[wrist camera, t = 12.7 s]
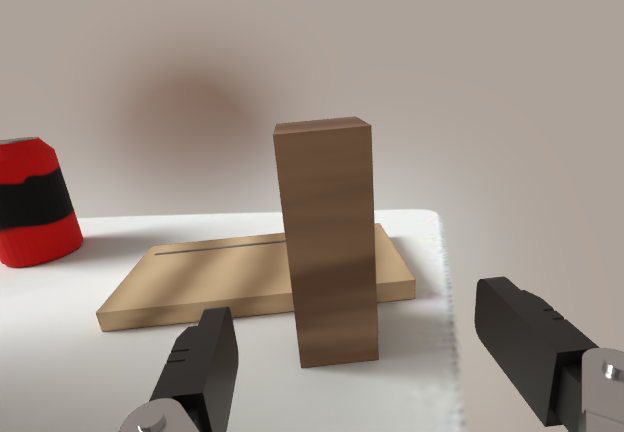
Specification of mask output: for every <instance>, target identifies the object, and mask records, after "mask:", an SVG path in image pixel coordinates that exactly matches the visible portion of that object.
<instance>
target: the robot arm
mask: <svg viewBox="0 0 624 432" xmlns="http://www.w3.org/2000/svg"><path fill="white" fill-rule="evenodd" d="M475 328H476V332H477V334H478V337H479V339H480V340H481V342H482V343H483V344H484V346H485V347H486V348H487V350H488V351H489V352H490V354H491V355H492V356H493V358H494V359H495V360H496V362H497V363H498V364H499V366H500V367H501V369H502V370H503V371H504V373H505V374H506V375H507V376H508V378H509V379H510V381H511V382H512V383H513V384H514V386H515V387H516V389H517V390H518V391H519V393H520V394H521V395H522V397H523V398H524V399H525V401H526V402H527V403H528V405H529V406H530V407H531V409H532V410H533V411H534V413H535V414H536V415H537V417H538V418H539V419H540V421H541V422H542V423H543V425H544V426H545V427H548V426H557V425H564V426H565V427H566V428H567V430H568V432H624V352H622V351H618V350H614V349H608V348H599V347H598V346H597V345H596V344H595V343H593V342H592V341H591V340H590V339H589V338H588V337H586V336H585V335H584V334H583V333H582V332H580V331H579V330H578V329H577V328H576V327H574V326H573V325H572V324H571V323H570V322H569V321H568V320H564V317H563V316H562V315H560V314H559V313H558V312H557V311H554V309H553V308H552V307H551V306H550V305H548V304H547V303H546V302H545V301H544V300H543V299H541V298H540V297H538V296H536V295H534V294H531V293H529V292H527V291H525V290H520V289H519V288H518V287H516V286H515V285H514V284H513V283H512V282H511V281H510V280H509V279H507V278H506V277H495V278H487V279H480V280H479V281H478V283H477V291H476V306H475ZM237 369H238V347H237V341H236V336H235V331H234V326H233V320H232V315H231V311H230V308H229V307H228V306H227V307H218V308H209V309H204V311H203V314H202V316H201V319H200V322H199V324H198V326H192V327H188V328H187V329H186V330H185V331H184V332H183V333H182V334H181V335H180V336H179V337H178V338H177V339H176V341H175V344H174V346H173V348H172V350H171V353H170V355H169V357H168V360H167V364H165V366H164V369H163V371H162V373H161V375H160V378H159V380H158V382H157V385H156V387H155V389H154V391H153V394H152V396H151V398H150V400H149V402H148V403H146V404H144V405H142V406H140V407H139V408H137V409H136V410H135V411H133V412H132V413H131V414H130V415H129V416H128V417H127V418H126V420H125V421H124V422H123V424H122V426H121V428H120V431H119V432H226V431H227V425H228V419H229V414H230V408H231V403H232V397H233V392H234V386H235V380H236V375H237Z"/></svg>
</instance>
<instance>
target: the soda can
mask: <svg viewBox="0 0 624 432" xmlns="http://www.w3.org/2000/svg"><path fill="white" fill-rule="evenodd" d="M82 241H83V237H82V233H81V230H80V227H79V224H78V221H77V218H76V215H75V212H74V209H73V206H72V203H71V200H70V196H69V193H68V190H67V187H66V184H65V181H64V178H63V175H62V172H61V169H60V166H59V162H58V159H57V156H56V153H55V150H54V149H53V148H52V147H50V146H49V145H47V144H46V143H45V142H43V141H42V140H41V139H39V137H27V138H17V139H8V140H1V141H0V261H1V262H2V263H3V264H5V265H7V266H10V267H27V266H33V265H38V264H42V263H46V262H49V261H52V260H55V259H58V258H61V257H63V256H65V255H67V254H69V253H71V252H73V251H75V250H76V249H77V248H79V246H80V245H81V243H82Z"/></svg>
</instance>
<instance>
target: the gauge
mask: <svg viewBox="0 0 624 432" xmlns="http://www.w3.org/2000/svg"><path fill="white" fill-rule="evenodd" d="M273 139H274V147H275V156H276V164H277V172H278V181H279V189H280V197H281V206H282V214H283V222H284V230H285V239H286V247H287V255H288V263H289V272H290V280H291V288H292V297H293V305H294V313H295V321H296V330H297V338H298V346H299V354H300V363H301V368H306V367H315V366H324V365H334V364H343V363H352V362H361V361H371V360H379V355H378V323H377V292H376V260H375V228H374V196H373V165H372V133H371V125H370V124H368V123H366V122H364V121H362V120H361V119H359V118H357V117H347V118H335V119H324V120H313V121H303V122H292V123H282V124H276V127H275V130H274V133H273Z"/></svg>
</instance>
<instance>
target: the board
mask: <svg viewBox="0 0 624 432" xmlns="http://www.w3.org/2000/svg"><path fill="white" fill-rule="evenodd" d="M374 228H375V260H376V292H377V302H385V301H394V300H404V299H413V298H415V278H414V277H413V275H412V274H411V272H410V270H409V269H408V267H407V266H406V264H405V262H404V261H403V259H402V258H401V256H400V254H399V253H398V251H397V250H396V248H395V247H394V245H393V243H392V242H391V240H390V239H389V237H388V235H387V234H386V232H385V231H384V229H383V228H382V226H381V224H380V223H376V224H374ZM227 306H228V307H229V308H230V311H231V315H232V318H234V317H243V316H253V315H262V314H272V313H281V312H290V311H294V305H293V297H292V288H291V280H290V272H289V263H288V255H287V247H286V239H285V233H277V234H267V235H257V236H247V237H238V238H228V239H218V240H208V241H198V242H188V243H178V244H168V245H159V246H152V247H151V248H150V249H149V250H148V251H147V253H146V254H145V255H144V256H143V257H142V259H141V260H140V261H139V262H138V263H137V264H136V266H135V267H134V268H133V269H132V270H131V272H130V273H129V274H128V275H127V276H126V278H125V279H124V280H123V281H122V282H121V284H120V285H119V286H118V287H117V288H116V290H115V291H114V292H113V293H112V294H111V296H110V297H109V298H108V299H107V300H106V302H105V303H104V304H103V305H102V306H101V307H100V309H99V310H98V311H97V312H96V315H97V318H98V321H99V324H100V327H101V330H102V331H111V330H120V329H130V328H139V327H149V326H158V325H168V324H177V323H187V322H196V321H200V319H201V316H202V314H203V311H204V309H209V308H218V307H227Z"/></svg>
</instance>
